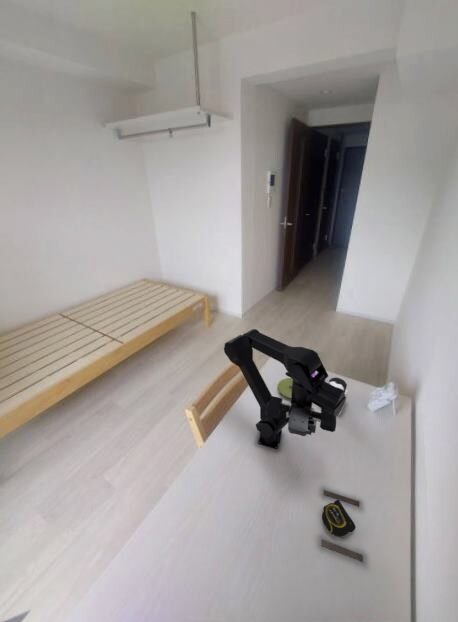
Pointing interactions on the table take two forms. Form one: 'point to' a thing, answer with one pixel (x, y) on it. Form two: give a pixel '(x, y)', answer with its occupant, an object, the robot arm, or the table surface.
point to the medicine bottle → (339, 386)
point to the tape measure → (337, 519)
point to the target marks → (336, 547)
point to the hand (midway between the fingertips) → (297, 433)
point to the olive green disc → (285, 387)
